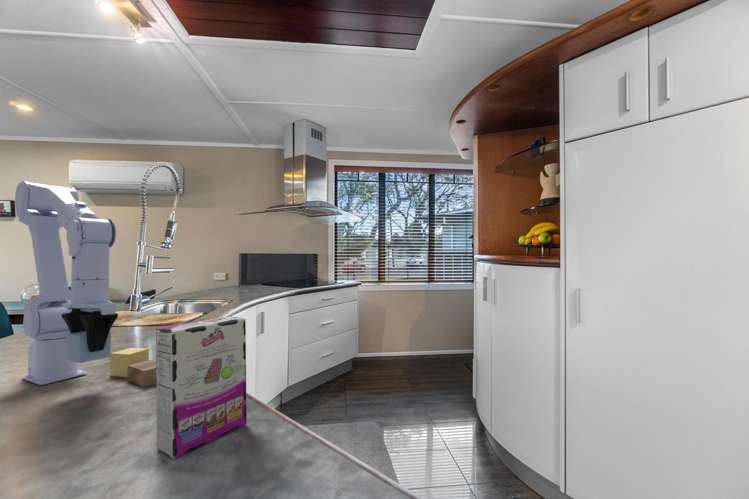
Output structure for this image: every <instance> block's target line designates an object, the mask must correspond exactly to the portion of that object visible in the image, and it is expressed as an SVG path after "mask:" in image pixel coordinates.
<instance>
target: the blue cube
mask: <svg viewBox="0 0 749 499" xmlns="http://www.w3.org/2000/svg"><path fill="white" fill-rule="evenodd" d="M111 333H112V332H111V330H110V331H109V334H108V337H107V340H106V344H105V347H104V349H103V350H100V351H95V352H89V349H88V344H87V335H86V331H83V332H76V333H70V334H67V360H68V361H72V362H77V363H78V364H82V363H86V362H91V361H95V360H100V359H105V358H109V357H110V358H111V348H112V347H111V346H112V345H111Z"/></svg>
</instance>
